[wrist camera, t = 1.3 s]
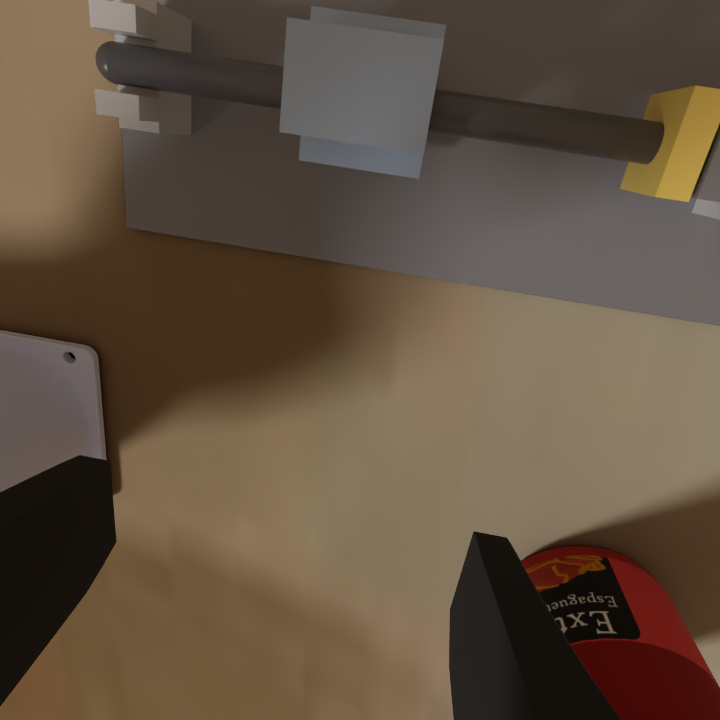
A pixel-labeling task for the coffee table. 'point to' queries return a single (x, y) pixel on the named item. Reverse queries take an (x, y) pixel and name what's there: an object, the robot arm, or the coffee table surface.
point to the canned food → (625, 634)
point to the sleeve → (360, 89)
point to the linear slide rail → (445, 145)
